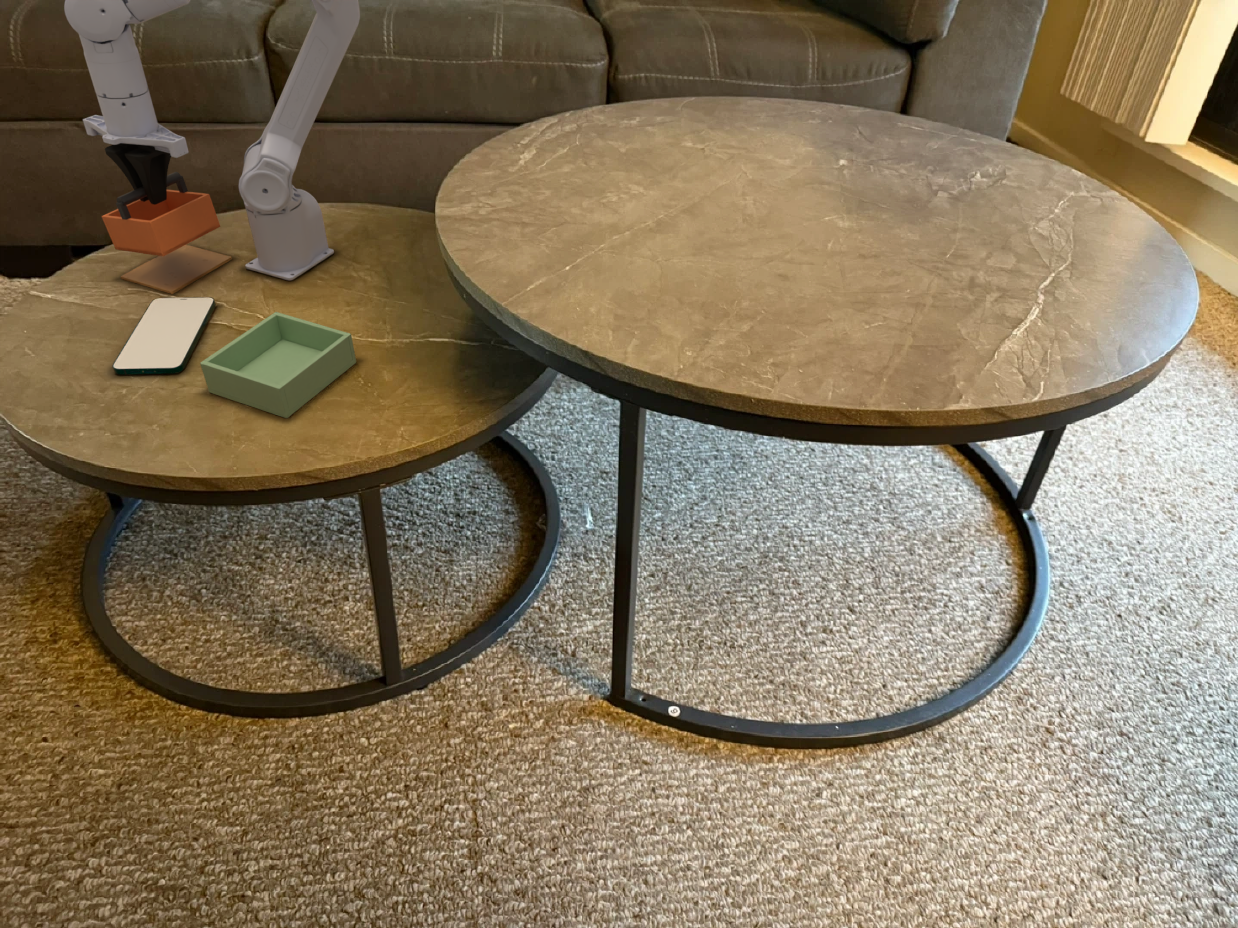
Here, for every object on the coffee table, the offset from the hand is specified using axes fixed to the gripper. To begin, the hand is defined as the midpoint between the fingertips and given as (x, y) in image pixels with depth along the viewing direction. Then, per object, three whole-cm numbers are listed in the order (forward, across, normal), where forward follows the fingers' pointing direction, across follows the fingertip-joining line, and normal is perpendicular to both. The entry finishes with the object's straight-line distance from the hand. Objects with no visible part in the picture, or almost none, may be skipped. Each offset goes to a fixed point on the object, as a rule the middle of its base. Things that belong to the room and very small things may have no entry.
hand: (153, 199), depth 117 cm
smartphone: (+10, +12, -13) cm, 20 cm away
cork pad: (+10, 0, +1) cm, 10 cm away
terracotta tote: (+5, +1, 0) cm, 5 cm away
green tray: (+10, +30, -13) cm, 34 cm away
